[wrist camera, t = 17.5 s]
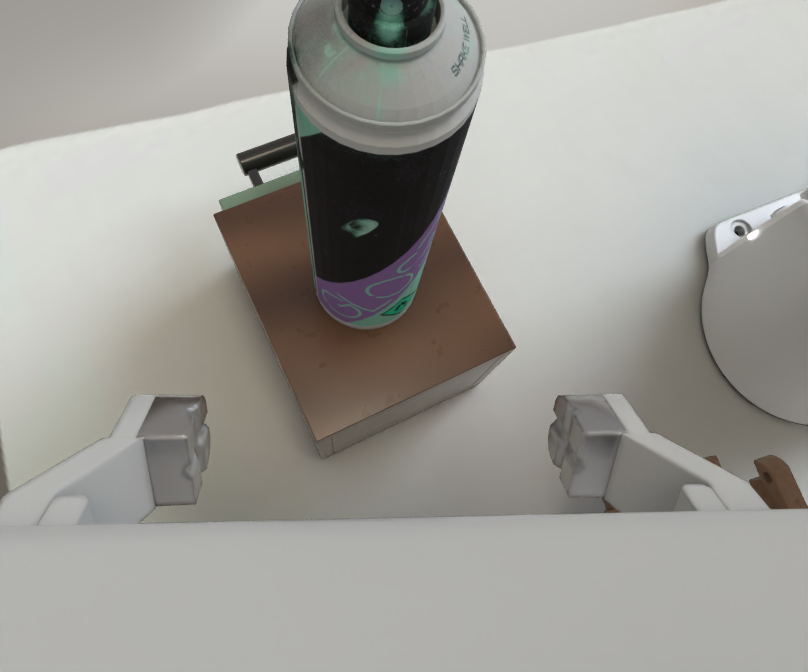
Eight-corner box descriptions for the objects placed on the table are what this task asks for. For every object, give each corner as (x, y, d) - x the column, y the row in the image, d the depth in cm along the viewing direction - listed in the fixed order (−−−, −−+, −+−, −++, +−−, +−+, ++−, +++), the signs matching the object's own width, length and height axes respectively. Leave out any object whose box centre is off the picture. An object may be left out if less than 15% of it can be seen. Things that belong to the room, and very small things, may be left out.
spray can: (343, 347, 32) (342, 97, 13) (296, 259, 33) (232, -91, 14) (434, 303, 33) (557, 12, 14) (386, 219, 34) (440, -155, 15)
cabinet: (240, 279, 43) (212, 213, 33) (391, 218, 45) (404, 141, 36) (322, 459, 40) (316, 442, 31) (478, 384, 42) (516, 347, 33)
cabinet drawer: (217, 206, 43) (191, 140, 36) (353, 155, 45) (355, 83, 38) (315, 421, 39) (309, 398, 32) (458, 354, 42) (483, 319, 34)
